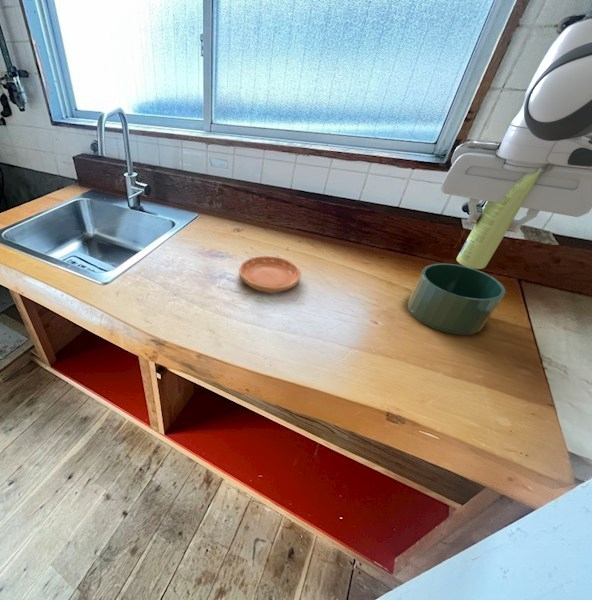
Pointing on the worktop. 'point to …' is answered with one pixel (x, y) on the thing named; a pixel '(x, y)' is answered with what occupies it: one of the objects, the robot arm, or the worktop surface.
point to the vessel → (455, 298)
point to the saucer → (269, 273)
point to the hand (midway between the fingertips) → (491, 226)
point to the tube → (494, 224)
